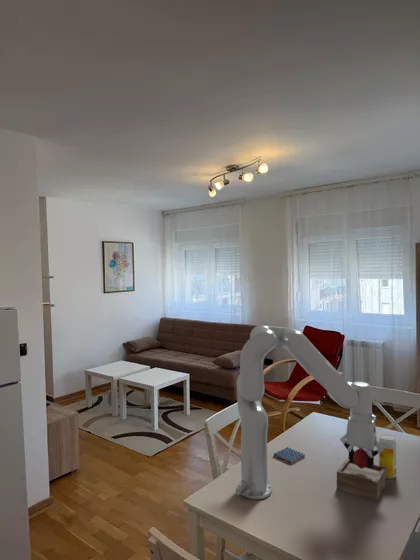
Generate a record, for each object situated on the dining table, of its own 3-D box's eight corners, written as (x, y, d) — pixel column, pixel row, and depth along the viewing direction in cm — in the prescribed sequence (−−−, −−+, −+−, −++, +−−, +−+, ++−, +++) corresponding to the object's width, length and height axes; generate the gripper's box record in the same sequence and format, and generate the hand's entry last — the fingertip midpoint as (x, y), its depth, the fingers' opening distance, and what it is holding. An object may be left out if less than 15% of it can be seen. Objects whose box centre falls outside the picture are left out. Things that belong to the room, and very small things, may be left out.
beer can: (381, 469, 154) (381, 432, 154) (398, 474, 150) (397, 436, 150) (377, 475, 149) (377, 437, 149) (394, 480, 145) (393, 441, 145)
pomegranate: (365, 464, 145) (365, 443, 145) (372, 472, 139) (372, 450, 139) (350, 464, 145) (350, 443, 145) (356, 472, 139) (356, 450, 139)
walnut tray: (376, 501, 132) (376, 483, 132) (336, 488, 141) (336, 471, 141) (386, 483, 144) (386, 467, 143) (348, 472, 152) (348, 457, 152)
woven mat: (271, 458, 166) (271, 453, 166) (286, 450, 173) (286, 446, 173) (291, 466, 158) (291, 462, 158) (306, 458, 165) (306, 454, 165)
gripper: (388, 418, 140) (388, 467, 140) (341, 408, 150) (341, 454, 150) (383, 424, 134) (383, 475, 134) (334, 414, 144) (334, 461, 144)
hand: (361, 463), depth 142 cm, fingers closed on pomegranate, 5 cm apart
